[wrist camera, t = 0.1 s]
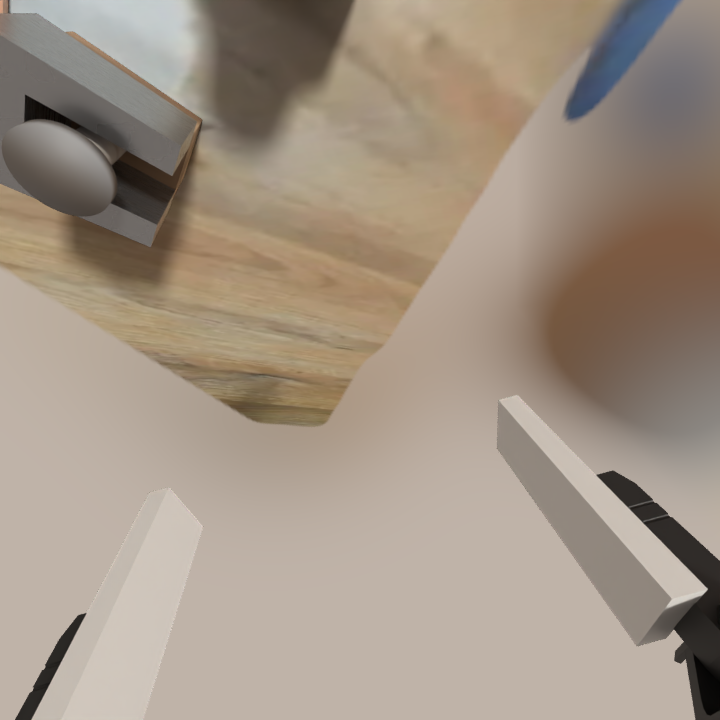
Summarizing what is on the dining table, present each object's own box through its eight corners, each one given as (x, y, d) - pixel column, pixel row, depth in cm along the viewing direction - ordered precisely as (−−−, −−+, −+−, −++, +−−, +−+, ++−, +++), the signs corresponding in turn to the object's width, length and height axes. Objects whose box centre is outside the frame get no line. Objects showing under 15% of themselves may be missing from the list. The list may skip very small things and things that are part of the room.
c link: (31, 141, 20) (-26, 172, 16) (36, 13, 16) (-35, 13, 12) (169, 210, 24) (150, 247, 21) (197, 121, 21) (181, 146, 17)
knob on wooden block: (73, 31, 20) (-77, 45, 11) (202, 119, 25) (166, 178, 16) (65, 110, 23) (-62, 170, 14) (183, 177, 27) (144, 254, 18)
